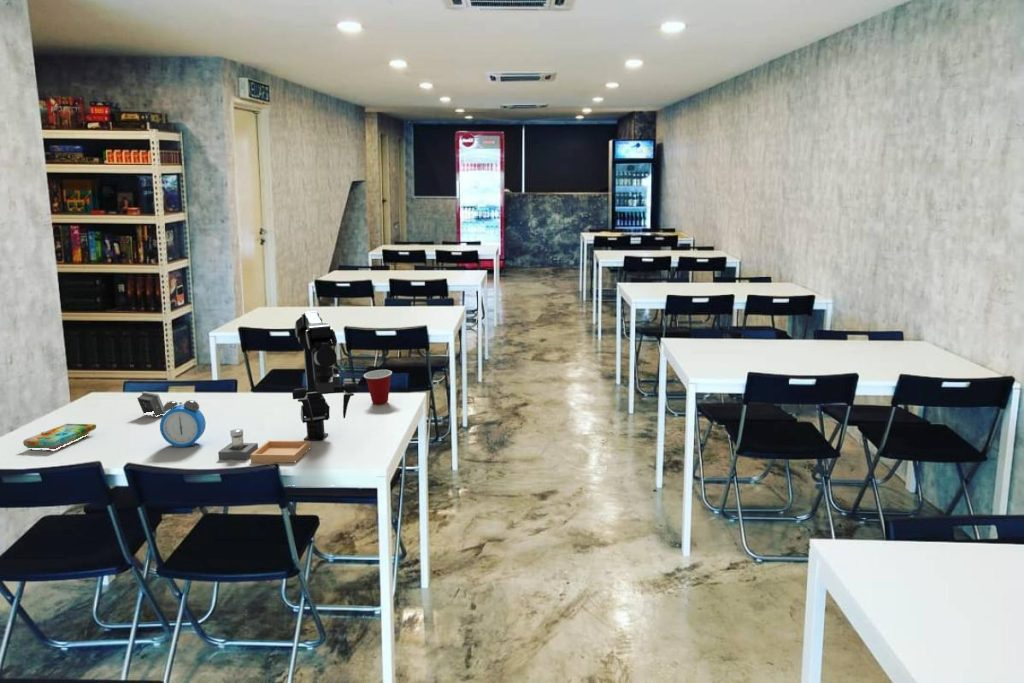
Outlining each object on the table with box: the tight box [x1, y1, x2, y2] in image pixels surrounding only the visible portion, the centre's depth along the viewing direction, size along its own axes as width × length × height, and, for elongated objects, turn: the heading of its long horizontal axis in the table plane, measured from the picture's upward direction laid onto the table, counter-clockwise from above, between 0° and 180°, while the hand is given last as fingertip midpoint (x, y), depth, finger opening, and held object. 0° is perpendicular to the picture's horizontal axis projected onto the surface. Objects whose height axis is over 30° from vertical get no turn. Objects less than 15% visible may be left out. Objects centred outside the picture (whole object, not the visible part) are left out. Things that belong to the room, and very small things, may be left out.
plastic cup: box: [363, 369, 393, 406], centre depth 318 cm, size 11×11×12 cm
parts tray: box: [250, 440, 311, 464], centre depth 260 cm, size 14×14×2 cm
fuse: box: [229, 428, 245, 450], centre depth 261 cm, size 4×4×8 cm
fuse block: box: [217, 442, 259, 461], centre depth 262 cm, size 9×9×2 cm
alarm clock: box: [159, 399, 207, 448], centre depth 273 cm, size 13×6×15 cm, turn 93°
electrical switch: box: [136, 391, 167, 416], centre depth 310 cm, size 9×5×9 cm, turn 57°
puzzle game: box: [22, 423, 97, 449], centre depth 281 cm, size 12×5×20 cm
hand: (328, 420), depth 244 cm, fingers open, 9 cm apart
